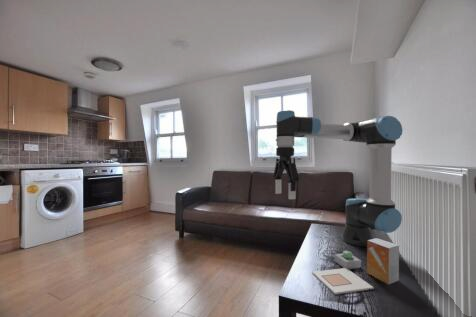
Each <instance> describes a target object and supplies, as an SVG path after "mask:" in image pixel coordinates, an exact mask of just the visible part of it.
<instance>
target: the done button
mask: <svg viewBox="0 0 476 317" xmlns="http://www.w3.org/2000/svg"><path fill="white" fill-rule="evenodd" d="M342 253H343V258H345V259H348V260H349V259H352V255H353V253H352V252H351V251H349V250H343V251H342Z"/></svg>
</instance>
